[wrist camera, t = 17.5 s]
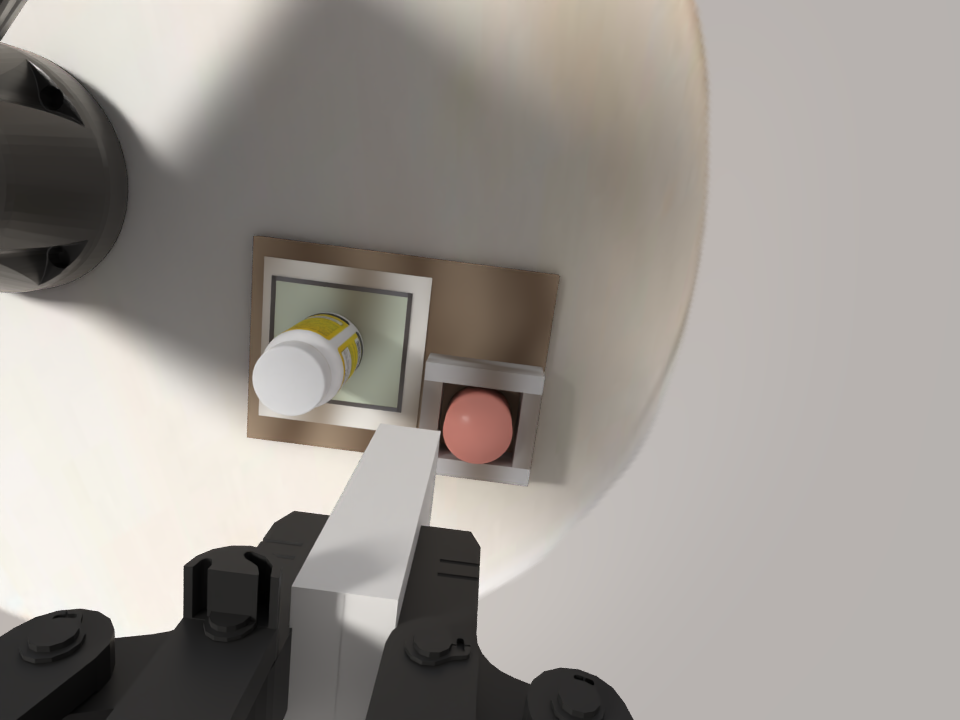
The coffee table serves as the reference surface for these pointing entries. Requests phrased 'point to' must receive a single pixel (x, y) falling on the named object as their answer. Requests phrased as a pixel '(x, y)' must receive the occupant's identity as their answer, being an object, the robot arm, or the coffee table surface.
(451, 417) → the button
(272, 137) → the coffee table surface
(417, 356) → the board
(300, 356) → the supplement bottle
